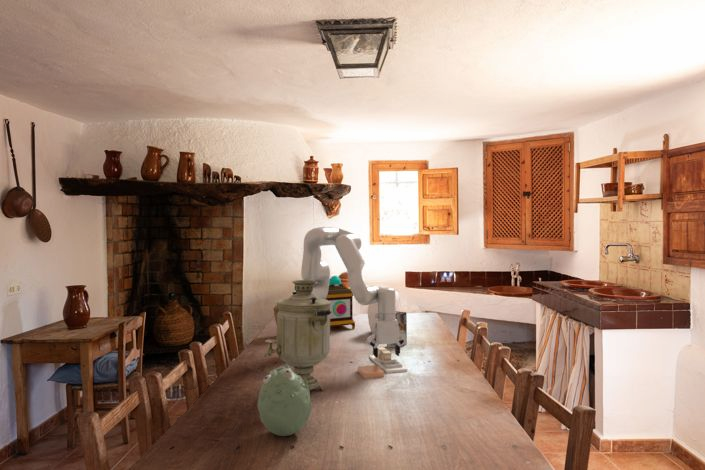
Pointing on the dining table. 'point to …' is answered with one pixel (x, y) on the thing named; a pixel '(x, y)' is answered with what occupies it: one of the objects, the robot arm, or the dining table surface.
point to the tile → (370, 371)
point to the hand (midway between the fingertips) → (386, 355)
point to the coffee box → (401, 326)
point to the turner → (387, 359)
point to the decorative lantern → (340, 303)
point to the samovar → (302, 331)
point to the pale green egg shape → (284, 401)
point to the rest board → (387, 370)
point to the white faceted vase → (373, 315)
